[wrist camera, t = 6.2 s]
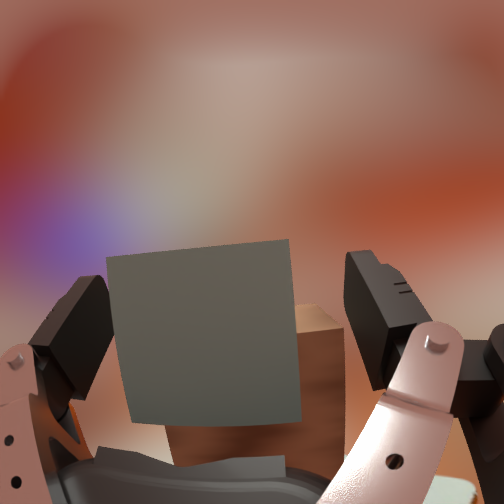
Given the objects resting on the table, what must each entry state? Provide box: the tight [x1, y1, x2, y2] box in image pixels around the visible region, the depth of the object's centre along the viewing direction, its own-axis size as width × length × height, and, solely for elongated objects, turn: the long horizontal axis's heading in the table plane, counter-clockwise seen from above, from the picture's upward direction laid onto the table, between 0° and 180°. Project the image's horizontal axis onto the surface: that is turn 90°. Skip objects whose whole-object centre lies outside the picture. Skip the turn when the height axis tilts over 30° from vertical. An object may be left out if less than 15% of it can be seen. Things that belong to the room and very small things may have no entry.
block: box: [106, 239, 302, 427], centre depth 18 cm, size 4×24×4 cm, turn 177°
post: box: [165, 303, 345, 480], centre depth 20 cm, size 10×10×32 cm
